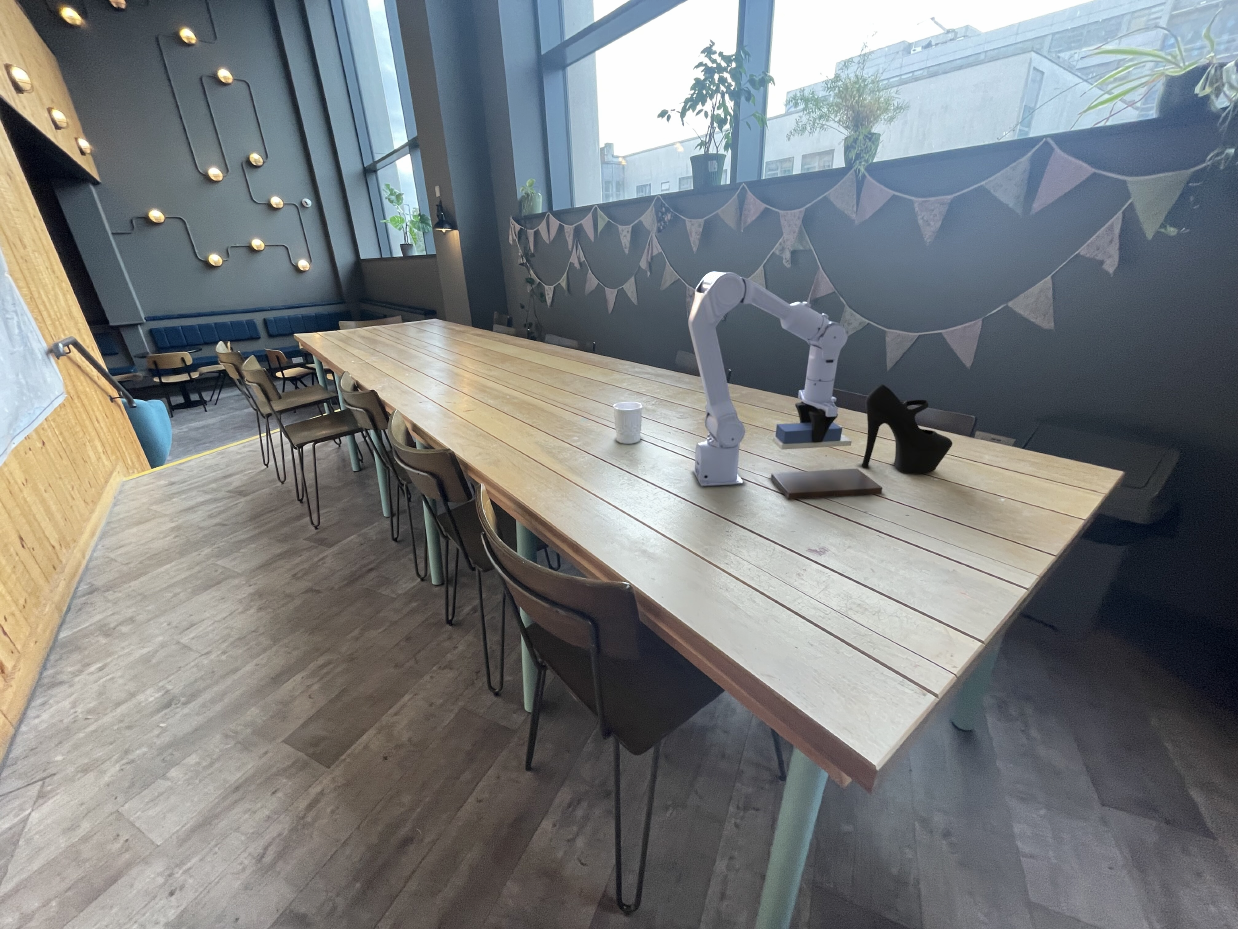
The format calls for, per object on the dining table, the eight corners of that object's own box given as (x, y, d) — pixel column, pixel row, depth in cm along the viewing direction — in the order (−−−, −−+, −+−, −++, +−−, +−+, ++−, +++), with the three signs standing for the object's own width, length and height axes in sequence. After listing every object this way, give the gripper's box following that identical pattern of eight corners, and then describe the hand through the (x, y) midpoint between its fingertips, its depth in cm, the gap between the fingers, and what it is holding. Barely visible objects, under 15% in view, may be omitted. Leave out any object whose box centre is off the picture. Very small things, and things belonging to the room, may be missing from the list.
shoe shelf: (788, 499, 98) (789, 493, 97) (770, 479, 107) (771, 473, 106) (881, 494, 98) (882, 487, 98) (856, 474, 108) (857, 468, 107)
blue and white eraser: (781, 449, 104) (783, 431, 103) (772, 440, 109) (774, 423, 108) (851, 445, 105) (854, 428, 103) (838, 437, 110) (841, 420, 108)
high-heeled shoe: (949, 477, 105) (974, 389, 97) (857, 472, 108) (874, 388, 100) (935, 463, 112) (957, 380, 104) (849, 459, 115) (864, 379, 107)
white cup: (642, 444, 129) (642, 409, 125) (614, 445, 129) (612, 410, 125) (642, 434, 136) (641, 401, 132) (615, 435, 136) (613, 401, 132)
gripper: (856, 385, 95) (845, 448, 100) (822, 370, 108) (814, 426, 113) (822, 387, 94) (813, 450, 100) (792, 371, 108) (785, 427, 113)
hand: (811, 437), depth 107 cm, fingers closed on blue and white eraser, 5 cm apart
